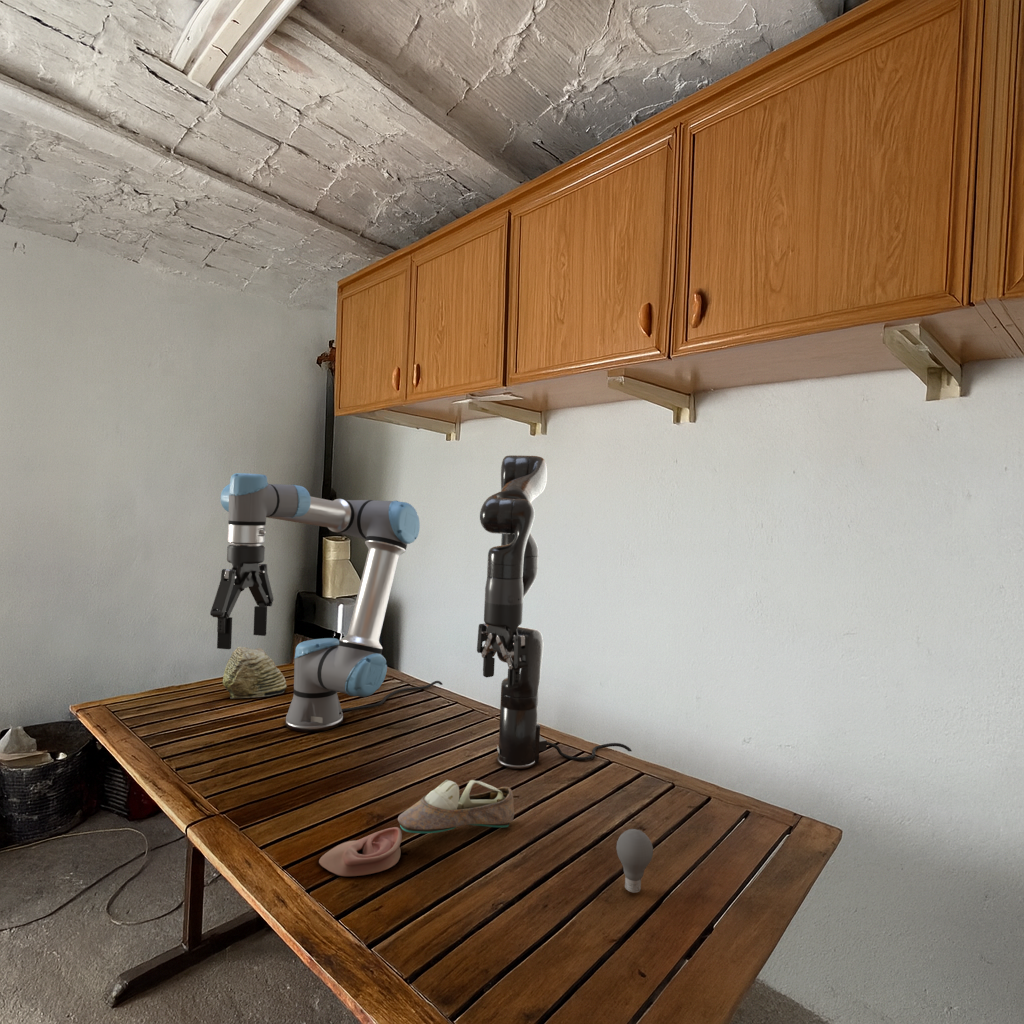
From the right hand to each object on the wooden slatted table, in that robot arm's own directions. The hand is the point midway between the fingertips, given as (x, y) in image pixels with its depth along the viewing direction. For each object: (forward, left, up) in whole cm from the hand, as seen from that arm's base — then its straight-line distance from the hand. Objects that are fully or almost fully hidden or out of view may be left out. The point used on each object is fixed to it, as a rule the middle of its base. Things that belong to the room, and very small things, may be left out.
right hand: (500, 681), depth 124 cm
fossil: (+35, -100, -29) cm, 110 cm away
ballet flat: (+8, 0, -26) cm, 28 cm away
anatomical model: (+27, +1, -29) cm, 39 cm away
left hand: (+44, -38, +2) cm, 58 cm away
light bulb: (-12, +28, -29) cm, 42 cm away
